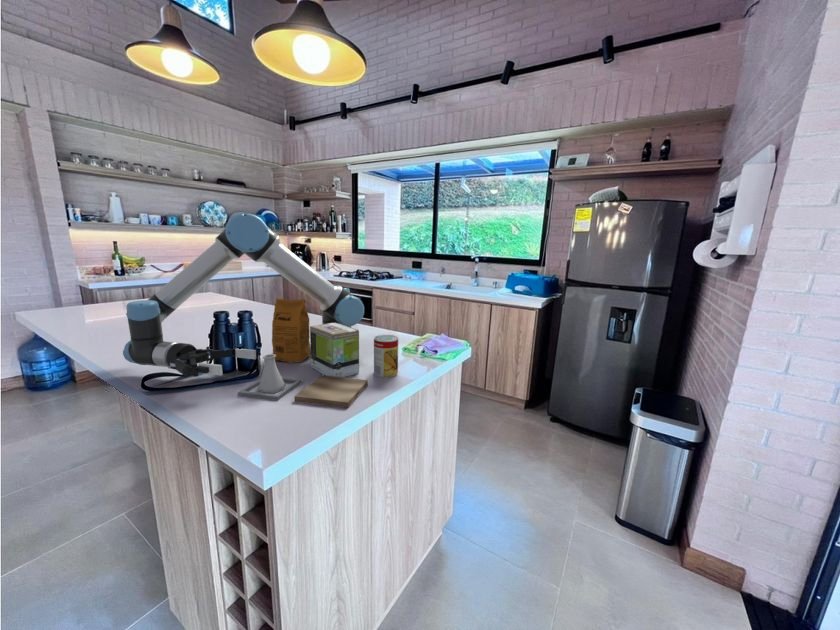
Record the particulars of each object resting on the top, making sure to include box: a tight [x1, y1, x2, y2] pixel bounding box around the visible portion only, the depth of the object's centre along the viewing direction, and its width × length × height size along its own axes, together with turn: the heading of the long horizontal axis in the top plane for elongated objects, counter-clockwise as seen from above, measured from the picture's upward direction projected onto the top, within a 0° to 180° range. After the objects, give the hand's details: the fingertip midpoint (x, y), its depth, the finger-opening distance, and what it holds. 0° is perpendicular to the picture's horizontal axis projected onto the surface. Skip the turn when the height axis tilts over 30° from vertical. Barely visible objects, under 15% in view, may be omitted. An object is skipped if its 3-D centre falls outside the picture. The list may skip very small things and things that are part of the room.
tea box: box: [309, 323, 360, 378], centre depth 108 cm, size 15×10×15 cm
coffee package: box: [271, 297, 311, 363], centre depth 118 cm, size 10×12×22 cm
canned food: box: [373, 334, 399, 378], centre depth 108 cm, size 8×8×12 cm
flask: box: [256, 353, 286, 394], centre depth 93 cm, size 7×7×10 cm
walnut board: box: [294, 374, 369, 409], centre depth 93 cm, size 15×15×2 cm
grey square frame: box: [237, 376, 303, 401], centre depth 94 cm, size 12×12×1 cm
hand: (239, 361), depth 95 cm, fingers open, 13 cm apart
